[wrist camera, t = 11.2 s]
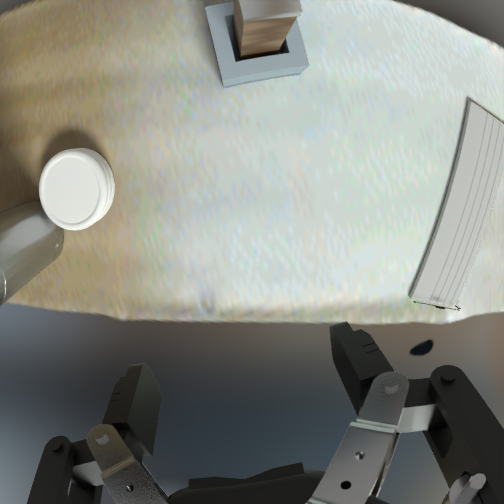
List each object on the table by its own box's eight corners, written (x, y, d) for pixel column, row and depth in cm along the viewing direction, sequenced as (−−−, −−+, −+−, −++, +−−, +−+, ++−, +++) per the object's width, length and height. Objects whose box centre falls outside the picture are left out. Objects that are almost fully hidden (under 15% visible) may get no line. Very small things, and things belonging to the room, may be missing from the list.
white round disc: (103, 136, 35) (92, 136, 31) (126, 211, 38) (117, 217, 35) (42, 164, 35) (28, 167, 32) (64, 232, 38) (52, 240, 35)
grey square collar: (223, 88, 34) (222, 80, 29) (208, 22, 31) (204, 6, 26) (299, 74, 33) (309, 65, 29) (282, 9, 30) (289, -7, 26)
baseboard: (512, 134, 37) (465, 101, 35) (523, 135, 34) (477, 100, 33) (457, 305, 47) (406, 295, 45) (466, 313, 44) (415, 303, 42)
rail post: (239, 63, 32) (243, 17, 18) (232, 32, 30) (232, -27, 16) (275, 58, 32) (302, 11, 18) (268, 26, 30) (289, -33, 16)
